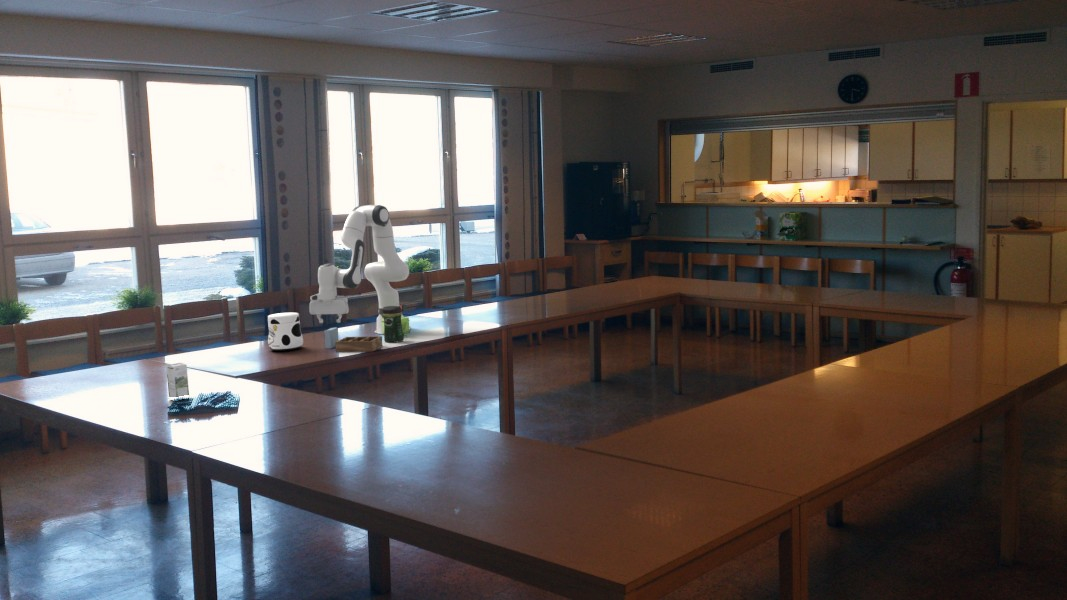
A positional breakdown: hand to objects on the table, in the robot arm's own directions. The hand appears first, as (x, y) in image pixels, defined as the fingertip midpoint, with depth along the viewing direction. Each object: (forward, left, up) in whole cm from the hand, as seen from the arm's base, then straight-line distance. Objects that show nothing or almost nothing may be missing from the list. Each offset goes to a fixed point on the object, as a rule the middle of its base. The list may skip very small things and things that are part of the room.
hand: (330, 322), depth 484 cm
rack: (+8, +18, -12) cm, 23 cm away
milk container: (+7, -22, -13) cm, 26 cm away
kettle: (-28, +24, -13) cm, 39 cm away
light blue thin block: (0, 0, -12) cm, 12 cm away
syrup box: (+113, -16, -13) cm, 114 cm away
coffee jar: (-12, +29, -13) cm, 34 cm away
